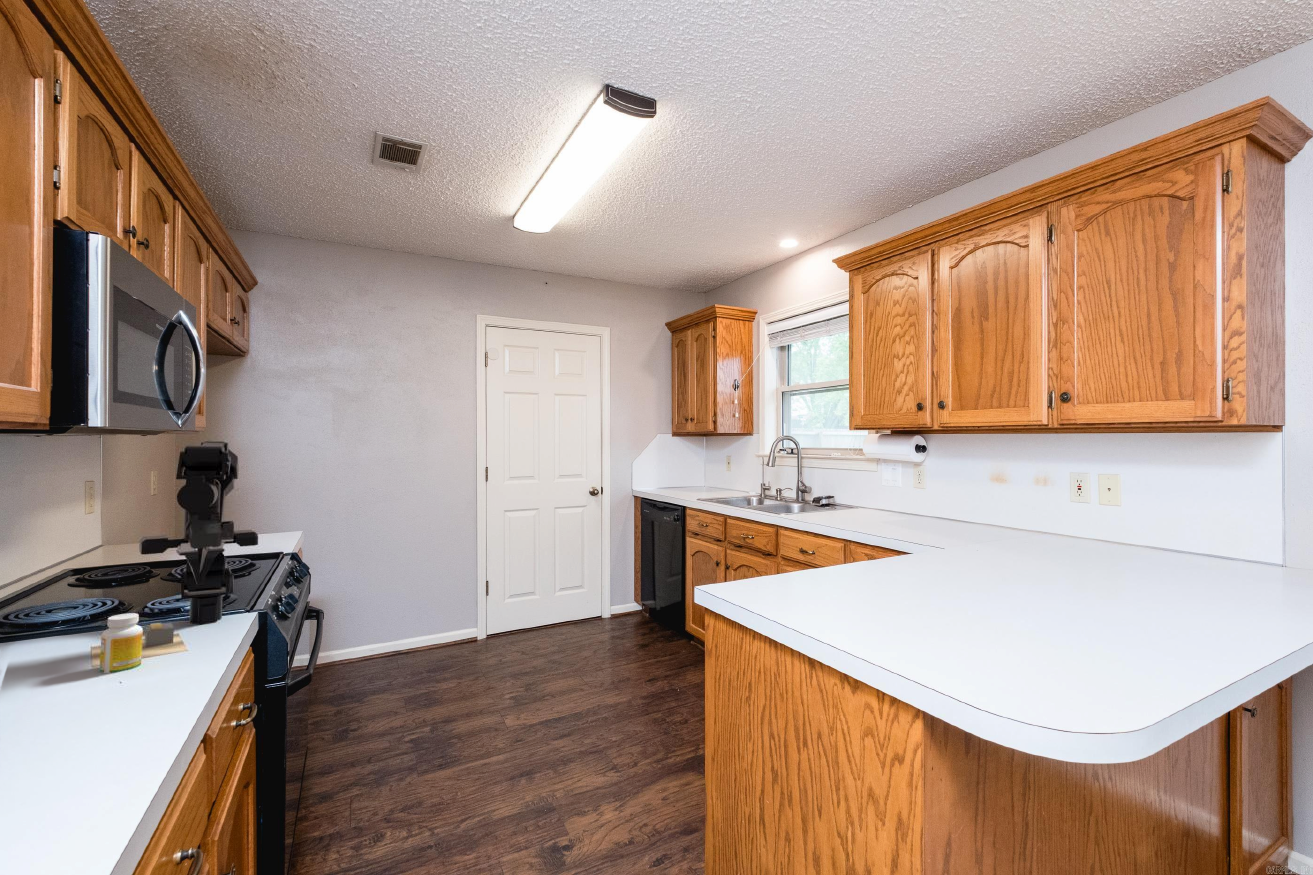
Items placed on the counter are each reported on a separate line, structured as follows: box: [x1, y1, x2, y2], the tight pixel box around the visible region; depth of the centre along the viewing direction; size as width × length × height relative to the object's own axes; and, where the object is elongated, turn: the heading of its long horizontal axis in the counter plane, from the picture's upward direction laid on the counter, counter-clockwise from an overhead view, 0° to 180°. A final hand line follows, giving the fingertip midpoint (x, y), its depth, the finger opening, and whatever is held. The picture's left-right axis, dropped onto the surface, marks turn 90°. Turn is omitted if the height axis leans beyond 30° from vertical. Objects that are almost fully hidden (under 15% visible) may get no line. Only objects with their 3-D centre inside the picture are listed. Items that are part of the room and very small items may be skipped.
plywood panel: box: [90, 633, 188, 668], centre depth 112 cm, size 14×13×1 cm
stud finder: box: [144, 622, 175, 647], centre depth 115 cm, size 4×4×4 cm
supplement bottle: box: [99, 612, 144, 674], centre depth 103 cm, size 5×5×10 cm
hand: (199, 583), depth 120 cm, fingers closed
